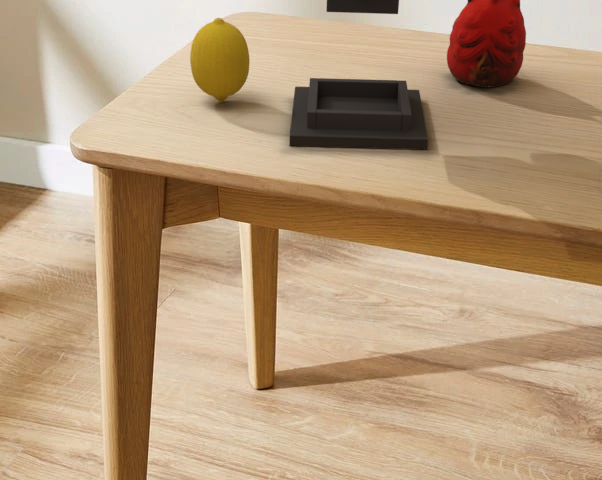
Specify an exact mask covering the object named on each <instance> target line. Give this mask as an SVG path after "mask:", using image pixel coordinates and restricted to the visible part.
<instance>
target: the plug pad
mask: <svg viewBox="0 0 602 480" xmlns="http://www.w3.org/2000/svg"><path fill="white" fill-rule="evenodd" d="M399 5H400V0H326V13H346V14H347V13H349V14H350V13H351V14H378V15H379V14H381V15H382V14H383V15H398V14H399Z"/></svg>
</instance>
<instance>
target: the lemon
mask: <svg viewBox="0 0 602 480" xmlns="http://www.w3.org/2000/svg"><path fill="white" fill-rule="evenodd" d="M190 48H191V49H190V55H189V56H190V57H189V62H190V71H191V75H192V78H193V80H194V83H195V84H196V86H198V88H199V89H200V90H201V91H202V92H203V93H205V94H206V95H208V96H211V97H213V98H214V99H215V100H216V101H217V102H219V103H223V102H225V101H226V100H227V99H228V98H229V97H230V96H232V95H235V94H236V93H238V92H239V91H240V90H241V89H242V88H243V86H244V85H245V84H246V82H247V79H248V76H249V71H250V52H249V46H248V44H247V40H246V38H245V36H244V34H243V33H242V32H241V31H240V29H239V28H238V27H237V26H236V25H233V24H232V23H230V22H228V21H225V20H224V19H223V18H221V17H216V18H214V20H213V21H211V22H207V23H206V24H205V25H203V26H201V28H200V29H198V31H197V32H196V33H195V36H194V38H193V40H192V43H191V47H190Z"/></svg>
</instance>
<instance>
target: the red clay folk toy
mask: <svg viewBox="0 0 602 480" xmlns="http://www.w3.org/2000/svg"><path fill="white" fill-rule="evenodd" d="M526 41H527V30H526V26H525V18H524V15H523V12H522V9H521V0H467V3H466V5H465V6H464V7H463V8H462V9H461V11H460V13H459V14H458V16H457V17H456V18H455V19H454V22H453V24H452V30H451V31H450V34H449V45H448V47H447V51H446V63H447V67H448V68H447V69H448V70H449V72H450V74H451V75H452V76H453V77H454V78H455V79H456V80H457V81H459V82H461V83H462V84H466V85H469V86H473V87H480V88H490V87H491V88H498V87H501V86H505V85H507V84H509V83H513V82H514V80H515V79H516V77H517V76H518V74H519V73H520V70H521V68H522V67H523V63H524V52H525V48H526V45H527V42H526Z"/></svg>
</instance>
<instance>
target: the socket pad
mask: <svg viewBox="0 0 602 480" xmlns="http://www.w3.org/2000/svg"><path fill="white" fill-rule="evenodd" d="M420 92H421V91H420V89H409V88H408V82H407V80H399V79H396V80H395V79H363V78H362V79H361V78H360V79H359V78H327V77H326V78H325V77H323V78H322V77H319V78H318V77H310V78H309V85H308V86H295V87H294V92H293V93H294V94H293V102H292V103H293V104H292V112H291V118H290V119H291V120H290V129H289V146H290V147H317V148H319V147H320V148H321V147H322V148H351V149H353V148H354V149H357V148H358V149H385V150H386V149H390V150H423V151H424V150H425V151H427V150H428V148H429V135H428V131H427V130H428V129H427V125H426V119H425V113H424V108H423V103H422V98H421V93H420Z"/></svg>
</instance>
